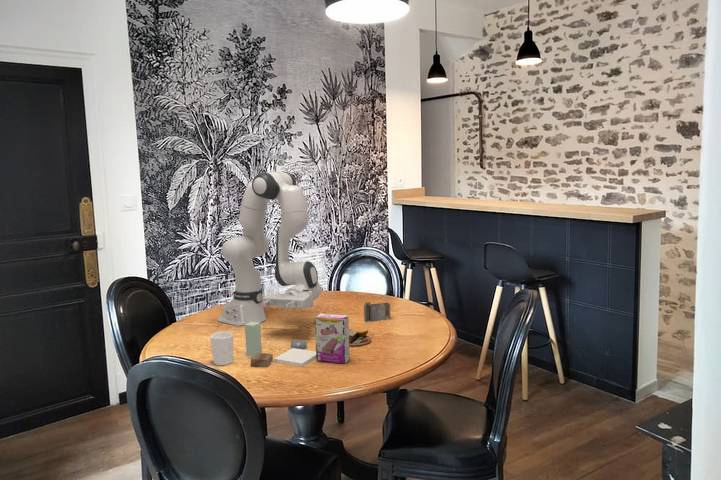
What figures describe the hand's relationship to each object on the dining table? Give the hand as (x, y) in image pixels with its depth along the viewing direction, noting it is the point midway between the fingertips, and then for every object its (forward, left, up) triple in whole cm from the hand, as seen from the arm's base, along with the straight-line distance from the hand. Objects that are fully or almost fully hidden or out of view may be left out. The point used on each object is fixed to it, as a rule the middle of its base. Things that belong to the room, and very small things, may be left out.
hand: (275, 305), depth 205 cm
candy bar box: (+29, -8, -16) cm, 34 cm away
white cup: (-7, -24, -16) cm, 29 cm away
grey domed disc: (+10, -1, -16) cm, 19 cm away
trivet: (+16, -11, -15) cm, 25 cm away
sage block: (-1, -14, -15) cm, 21 cm away
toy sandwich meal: (+27, +13, -16) cm, 34 cm away
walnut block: (+7, -20, -16) cm, 26 cm away
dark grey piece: (+23, +43, -16) cm, 52 cm away
